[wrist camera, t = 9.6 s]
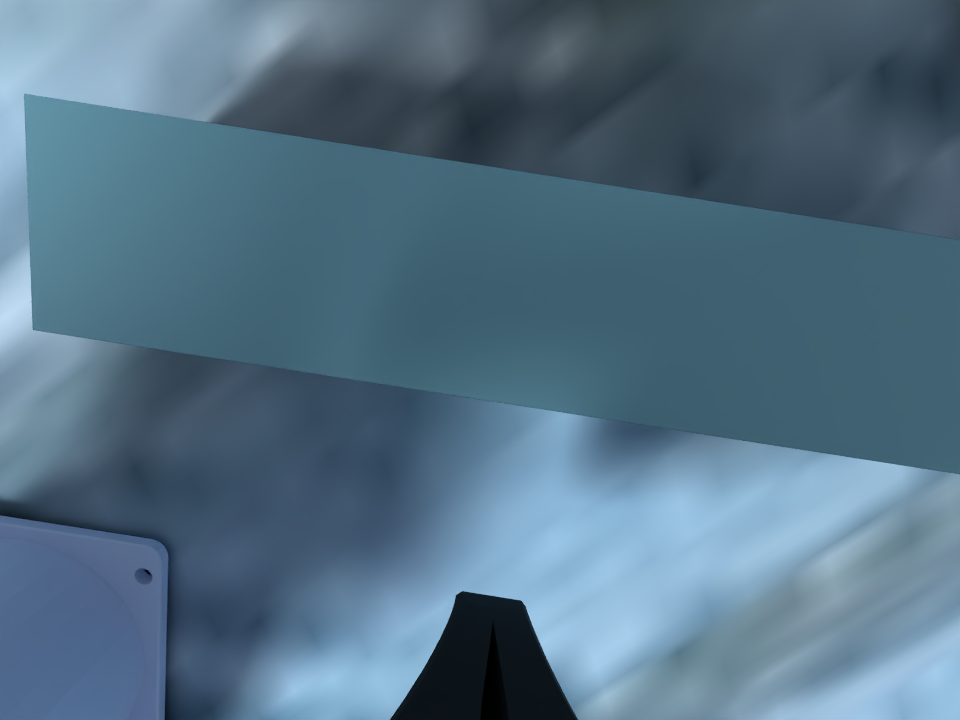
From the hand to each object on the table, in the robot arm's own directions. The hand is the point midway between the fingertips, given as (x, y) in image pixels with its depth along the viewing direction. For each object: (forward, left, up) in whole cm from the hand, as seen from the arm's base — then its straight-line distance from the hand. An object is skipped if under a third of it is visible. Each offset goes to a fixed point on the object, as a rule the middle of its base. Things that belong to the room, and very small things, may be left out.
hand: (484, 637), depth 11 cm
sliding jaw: (+7, 0, -5) cm, 8 cm away
